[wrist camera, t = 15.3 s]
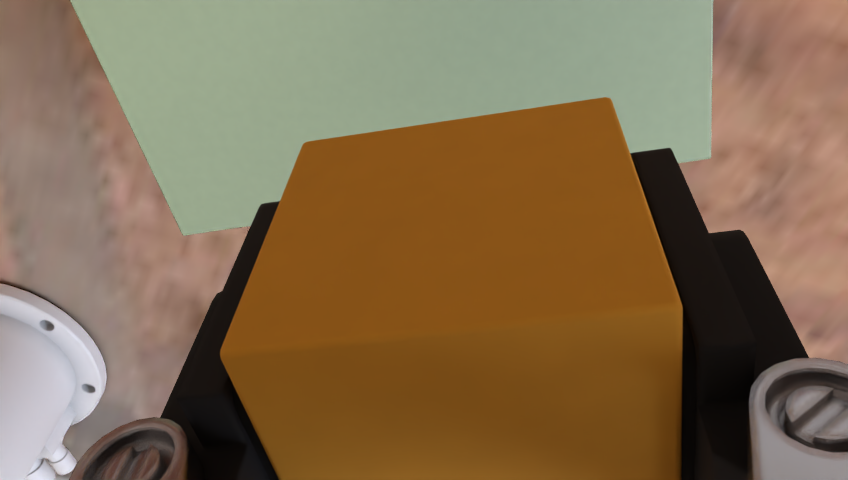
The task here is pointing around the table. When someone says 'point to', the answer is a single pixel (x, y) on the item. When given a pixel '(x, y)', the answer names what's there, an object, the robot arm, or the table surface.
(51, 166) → the table surface
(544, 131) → the block
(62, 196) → the table surface
